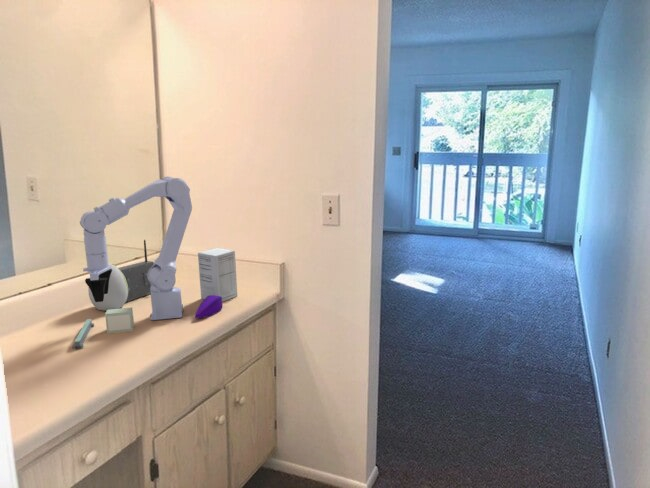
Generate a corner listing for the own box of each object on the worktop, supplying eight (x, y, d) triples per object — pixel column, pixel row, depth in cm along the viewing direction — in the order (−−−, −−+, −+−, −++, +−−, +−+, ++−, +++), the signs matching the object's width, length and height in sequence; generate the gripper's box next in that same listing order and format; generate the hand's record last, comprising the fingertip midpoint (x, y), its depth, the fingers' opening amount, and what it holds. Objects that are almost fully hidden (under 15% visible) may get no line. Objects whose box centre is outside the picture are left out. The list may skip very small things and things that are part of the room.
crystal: (188, 309, 157) (213, 290, 170) (190, 323, 158) (214, 304, 172) (201, 310, 155) (225, 292, 169) (203, 325, 157) (227, 305, 170)
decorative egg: (136, 302, 176) (133, 260, 173) (114, 314, 165) (110, 268, 162) (106, 300, 179) (102, 258, 176) (81, 311, 168) (77, 266, 165)
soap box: (134, 326, 154) (132, 307, 153) (132, 331, 150) (130, 311, 149) (109, 328, 152) (107, 309, 151) (107, 333, 149) (105, 314, 147)
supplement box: (220, 292, 187) (217, 247, 184) (238, 296, 182) (236, 250, 178) (200, 299, 179) (196, 252, 176) (218, 303, 174) (215, 255, 171)
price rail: (94, 325, 155) (93, 318, 155) (82, 348, 138) (81, 340, 137) (85, 326, 154) (84, 319, 154) (73, 349, 137) (72, 341, 137)
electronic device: (148, 290, 190) (144, 238, 186) (161, 293, 187) (157, 239, 183) (108, 303, 175) (103, 246, 171) (122, 306, 172) (117, 248, 168)
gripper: (86, 248, 154) (91, 291, 157) (76, 259, 140) (81, 306, 143) (111, 247, 156) (116, 289, 159) (103, 257, 142) (108, 304, 145)
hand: (101, 297), depth 151 cm, fingers open, 7 cm apart
